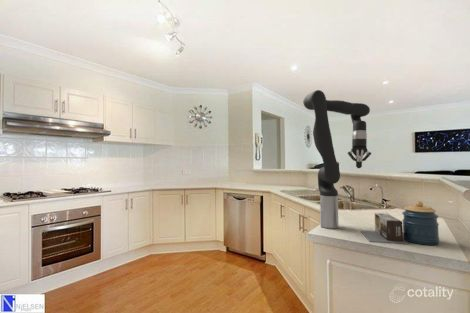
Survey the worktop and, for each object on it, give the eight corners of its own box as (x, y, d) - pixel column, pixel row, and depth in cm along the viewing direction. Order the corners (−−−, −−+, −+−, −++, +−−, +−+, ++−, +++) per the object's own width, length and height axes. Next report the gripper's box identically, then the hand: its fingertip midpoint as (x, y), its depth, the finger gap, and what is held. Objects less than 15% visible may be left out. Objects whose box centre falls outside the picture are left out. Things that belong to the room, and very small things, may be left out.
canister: (428, 247, 99) (427, 204, 99) (396, 238, 111) (395, 200, 111) (446, 243, 104) (444, 202, 105) (413, 234, 116) (412, 198, 117)
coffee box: (388, 231, 121) (403, 242, 105) (374, 230, 122) (387, 241, 107) (388, 213, 121) (403, 221, 105) (374, 212, 122) (386, 220, 107)
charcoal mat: (369, 241, 107) (369, 240, 107) (360, 231, 123) (360, 230, 123) (408, 244, 103) (408, 243, 103) (393, 233, 119) (393, 232, 119)
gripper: (348, 137, 139) (347, 167, 138) (373, 138, 136) (373, 168, 135) (345, 139, 146) (345, 167, 146) (369, 139, 143) (369, 168, 142)
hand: (358, 168), depth 140 cm, fingers closed
